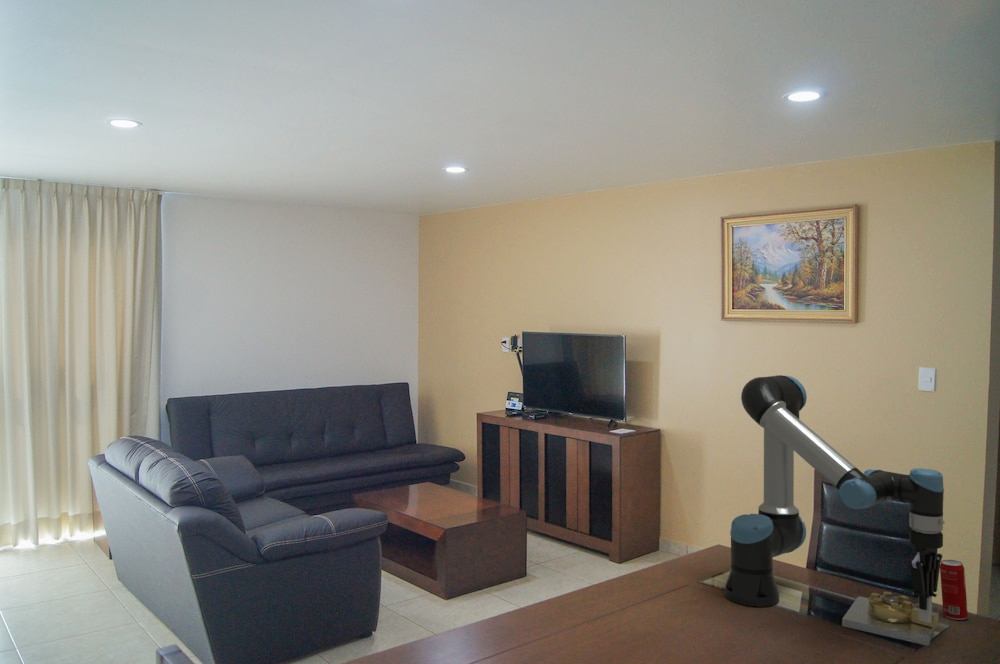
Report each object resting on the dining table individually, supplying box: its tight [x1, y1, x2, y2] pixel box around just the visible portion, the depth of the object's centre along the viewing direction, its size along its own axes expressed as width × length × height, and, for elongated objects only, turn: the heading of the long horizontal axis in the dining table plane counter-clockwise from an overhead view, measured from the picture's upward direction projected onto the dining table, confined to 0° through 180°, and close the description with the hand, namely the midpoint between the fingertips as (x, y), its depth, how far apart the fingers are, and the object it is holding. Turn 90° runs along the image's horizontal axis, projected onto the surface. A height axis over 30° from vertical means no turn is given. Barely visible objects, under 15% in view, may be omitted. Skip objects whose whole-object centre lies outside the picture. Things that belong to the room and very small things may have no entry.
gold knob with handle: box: [867, 591, 939, 629], centre depth 195 cm, size 16×11×4 cm, turn 43°
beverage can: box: [939, 559, 969, 621], centre depth 201 cm, size 6×6×15 cm
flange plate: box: [841, 595, 940, 647], centre depth 196 cm, size 20×20×6 cm
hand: (925, 621), depth 189 cm, fingers closed
